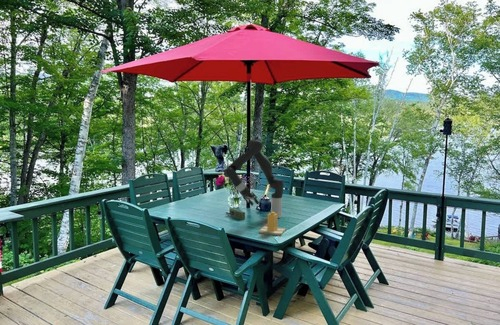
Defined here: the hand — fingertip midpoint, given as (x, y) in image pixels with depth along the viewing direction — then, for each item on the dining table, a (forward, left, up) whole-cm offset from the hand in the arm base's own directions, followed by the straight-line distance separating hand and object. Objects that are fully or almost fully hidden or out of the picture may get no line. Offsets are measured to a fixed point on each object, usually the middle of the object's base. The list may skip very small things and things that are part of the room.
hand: (255, 204), depth 261 cm
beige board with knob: (+10, +17, -17) cm, 26 cm away
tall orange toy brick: (+10, +17, -16) cm, 25 cm away
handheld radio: (-19, -25, -18) cm, 37 cm away
